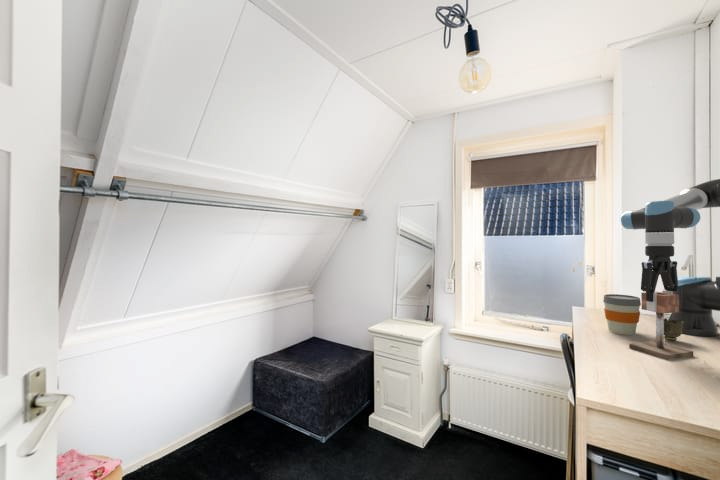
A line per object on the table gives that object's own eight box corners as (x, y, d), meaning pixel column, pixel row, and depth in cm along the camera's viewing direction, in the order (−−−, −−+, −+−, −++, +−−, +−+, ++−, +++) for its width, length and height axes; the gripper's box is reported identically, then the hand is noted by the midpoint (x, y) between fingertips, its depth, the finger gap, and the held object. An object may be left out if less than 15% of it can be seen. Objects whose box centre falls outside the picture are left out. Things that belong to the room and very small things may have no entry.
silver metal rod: (658, 346, 115) (658, 309, 115) (665, 348, 114) (665, 311, 113) (654, 346, 115) (654, 310, 115) (661, 348, 113) (660, 311, 113)
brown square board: (653, 344, 122) (653, 340, 122) (693, 356, 110) (693, 351, 110) (629, 348, 119) (629, 343, 119) (667, 359, 107) (667, 355, 107)
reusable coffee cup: (601, 331, 139) (600, 297, 139) (606, 325, 147) (605, 293, 147) (639, 338, 130) (639, 300, 130) (642, 331, 139) (642, 296, 138)
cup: (689, 343, 122) (689, 322, 122) (666, 342, 124) (666, 322, 124) (674, 337, 129) (674, 317, 129) (653, 336, 131) (652, 317, 131)
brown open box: (655, 307, 118) (655, 291, 118) (678, 312, 112) (678, 294, 112) (641, 309, 117) (641, 292, 117) (664, 313, 110) (663, 296, 110)
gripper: (667, 244, 120) (667, 305, 120) (626, 245, 115) (627, 309, 115) (692, 244, 113) (693, 310, 113) (650, 245, 108) (650, 314, 108)
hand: (659, 309), depth 114 cm, fingers closed on brown open box, 7 cm apart
